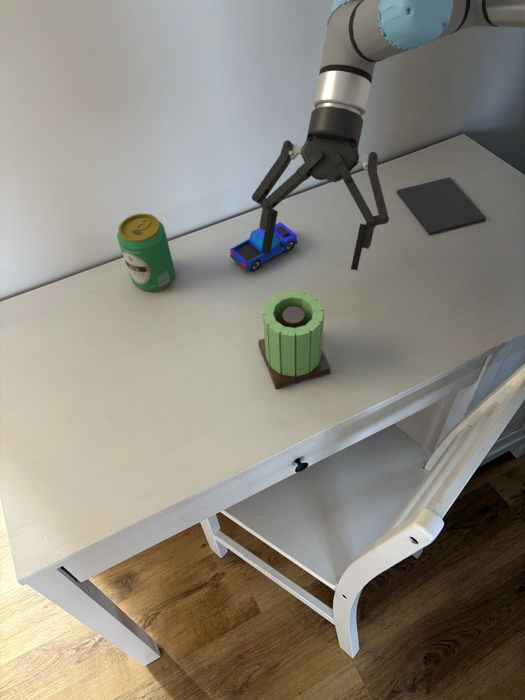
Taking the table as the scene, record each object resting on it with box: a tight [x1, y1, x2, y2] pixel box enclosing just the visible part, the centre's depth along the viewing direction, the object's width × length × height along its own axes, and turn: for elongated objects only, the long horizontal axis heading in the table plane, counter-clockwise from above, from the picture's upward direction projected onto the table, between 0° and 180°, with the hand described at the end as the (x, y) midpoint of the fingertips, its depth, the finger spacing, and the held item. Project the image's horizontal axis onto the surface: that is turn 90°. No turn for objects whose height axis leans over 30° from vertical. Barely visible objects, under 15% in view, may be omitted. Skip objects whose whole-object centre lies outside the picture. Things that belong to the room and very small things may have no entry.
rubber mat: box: [396, 176, 487, 235], centre depth 106 cm, size 14×12×1 cm
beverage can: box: [116, 213, 176, 293], centre depth 94 cm, size 8×8×12 cm
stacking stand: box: [257, 306, 332, 390], centre depth 81 cm, size 9×9×11 cm
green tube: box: [262, 289, 325, 377], centre depth 81 cm, size 9×9×10 cm
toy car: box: [229, 221, 299, 273], centre depth 99 cm, size 7×12×5 cm, turn 127°
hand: (308, 261), depth 80 cm, fingers open, 13 cm apart
